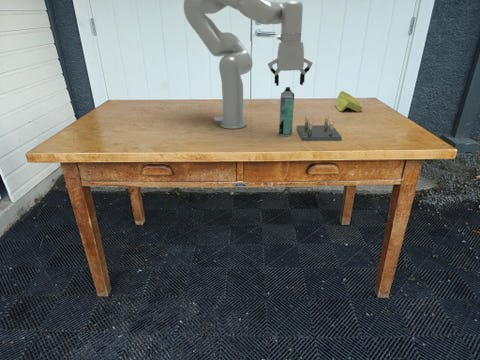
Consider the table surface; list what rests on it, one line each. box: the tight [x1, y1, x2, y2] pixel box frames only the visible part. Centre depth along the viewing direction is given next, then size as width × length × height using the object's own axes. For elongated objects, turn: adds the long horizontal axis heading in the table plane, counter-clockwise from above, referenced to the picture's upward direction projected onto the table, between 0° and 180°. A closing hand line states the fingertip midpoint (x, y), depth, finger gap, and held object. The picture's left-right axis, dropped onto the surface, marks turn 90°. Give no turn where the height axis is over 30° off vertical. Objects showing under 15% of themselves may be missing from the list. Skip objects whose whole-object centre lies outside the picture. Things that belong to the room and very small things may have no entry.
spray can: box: [278, 86, 295, 137], centre depth 133 cm, size 6×6×20 cm
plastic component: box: [335, 90, 363, 113], centre depth 176 cm, size 20×7×10 cm
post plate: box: [296, 115, 343, 142], centre depth 136 cm, size 16×16×6 cm
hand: (289, 84), depth 128 cm, fingers open, 9 cm apart
